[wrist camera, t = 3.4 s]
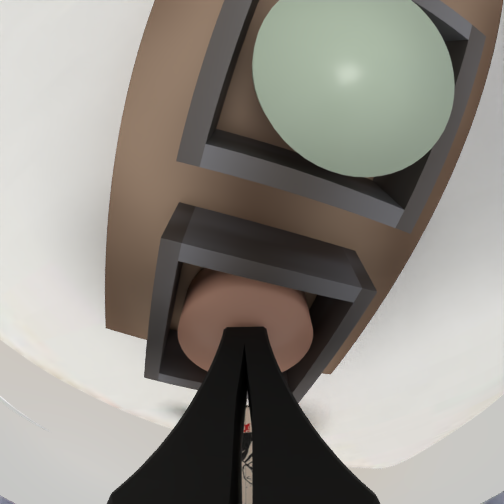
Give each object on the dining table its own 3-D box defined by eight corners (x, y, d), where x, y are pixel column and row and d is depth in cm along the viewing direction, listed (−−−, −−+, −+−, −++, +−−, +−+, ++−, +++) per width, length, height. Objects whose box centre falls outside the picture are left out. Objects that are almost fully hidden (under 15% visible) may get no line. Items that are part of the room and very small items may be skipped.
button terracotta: (325, 273, 11) (336, 305, 10) (281, 355, 14) (283, 386, 12) (198, 241, 11) (190, 270, 9) (177, 334, 13) (170, 365, 11)
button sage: (436, 44, 6) (472, 42, 5) (385, 180, 8) (412, 204, 7) (282, -29, 5) (292, -54, 4) (228, 126, 8) (224, 137, 6)
